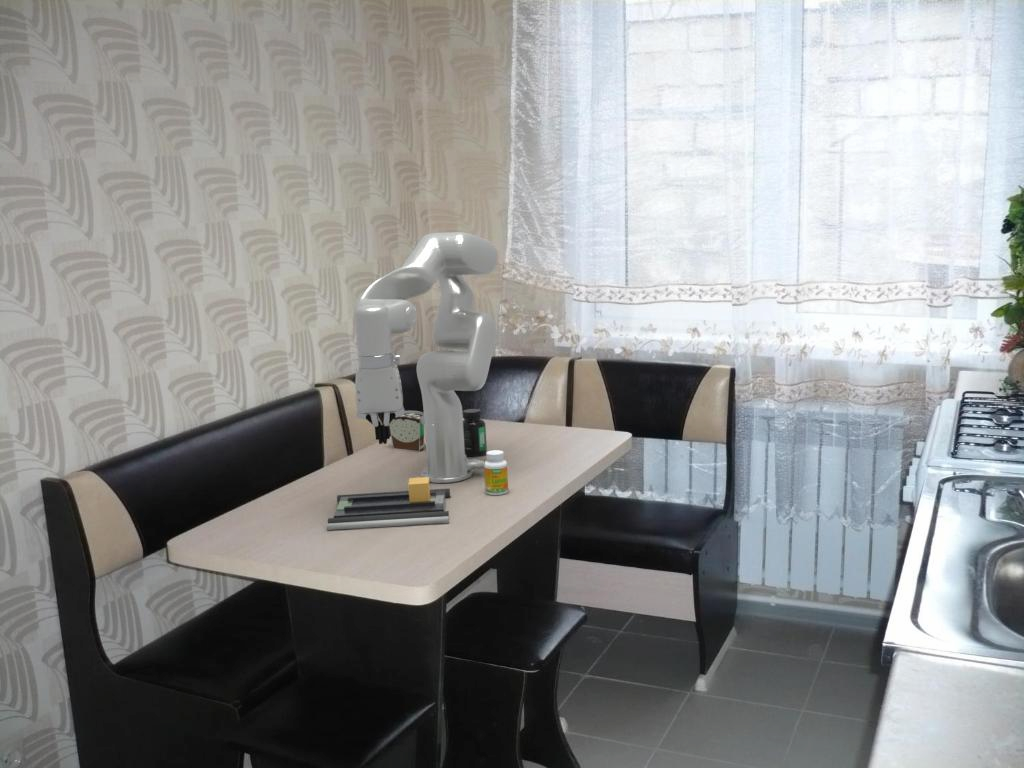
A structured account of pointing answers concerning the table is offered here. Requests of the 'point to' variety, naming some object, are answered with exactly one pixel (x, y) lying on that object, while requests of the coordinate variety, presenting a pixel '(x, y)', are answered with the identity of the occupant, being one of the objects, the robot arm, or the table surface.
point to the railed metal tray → (388, 505)
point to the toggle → (419, 489)
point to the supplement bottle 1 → (474, 433)
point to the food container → (408, 431)
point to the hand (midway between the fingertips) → (383, 442)
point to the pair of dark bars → (388, 516)
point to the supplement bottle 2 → (495, 473)
